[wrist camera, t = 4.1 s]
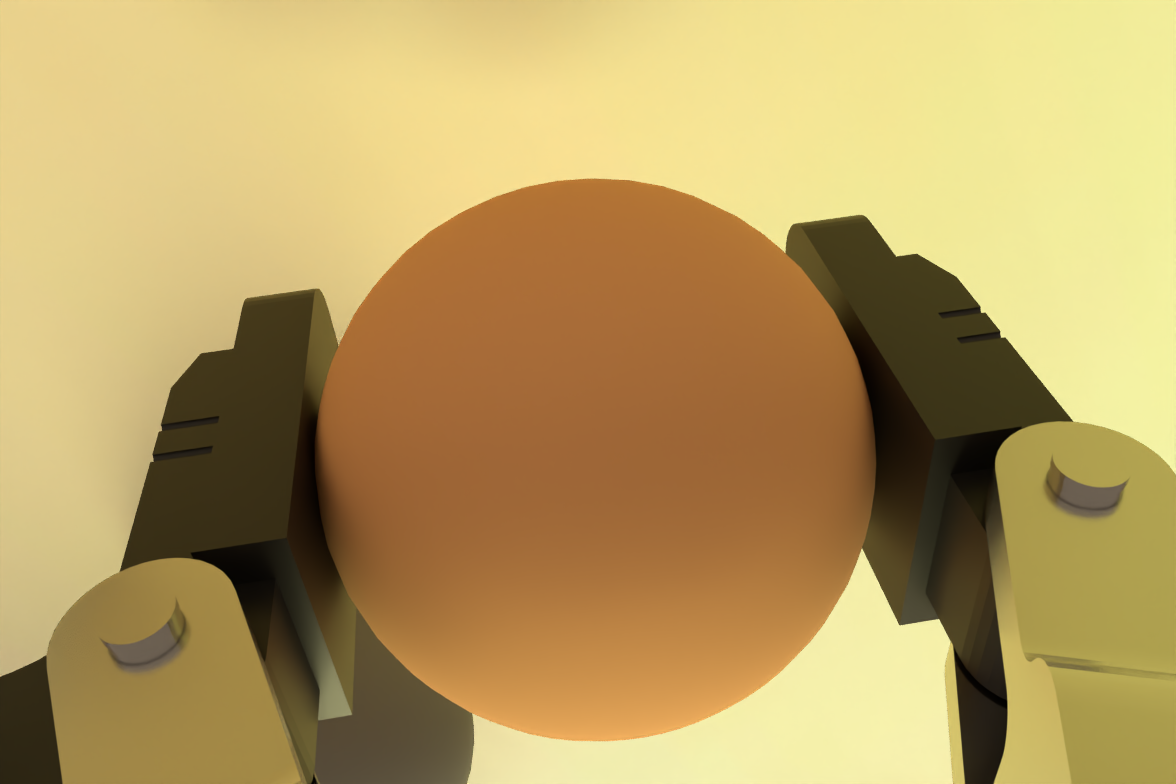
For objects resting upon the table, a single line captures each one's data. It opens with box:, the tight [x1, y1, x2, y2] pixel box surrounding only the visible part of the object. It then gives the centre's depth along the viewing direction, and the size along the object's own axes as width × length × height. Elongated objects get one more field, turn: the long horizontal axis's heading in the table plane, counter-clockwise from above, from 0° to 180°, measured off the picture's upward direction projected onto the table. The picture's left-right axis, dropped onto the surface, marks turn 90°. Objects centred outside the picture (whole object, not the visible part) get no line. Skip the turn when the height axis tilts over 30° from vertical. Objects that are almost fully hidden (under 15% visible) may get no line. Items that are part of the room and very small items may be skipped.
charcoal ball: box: [314, 607, 474, 784], centre depth 17 cm, size 5×5×5 cm
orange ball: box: [315, 179, 876, 741], centre depth 9 cm, size 5×5×5 cm
